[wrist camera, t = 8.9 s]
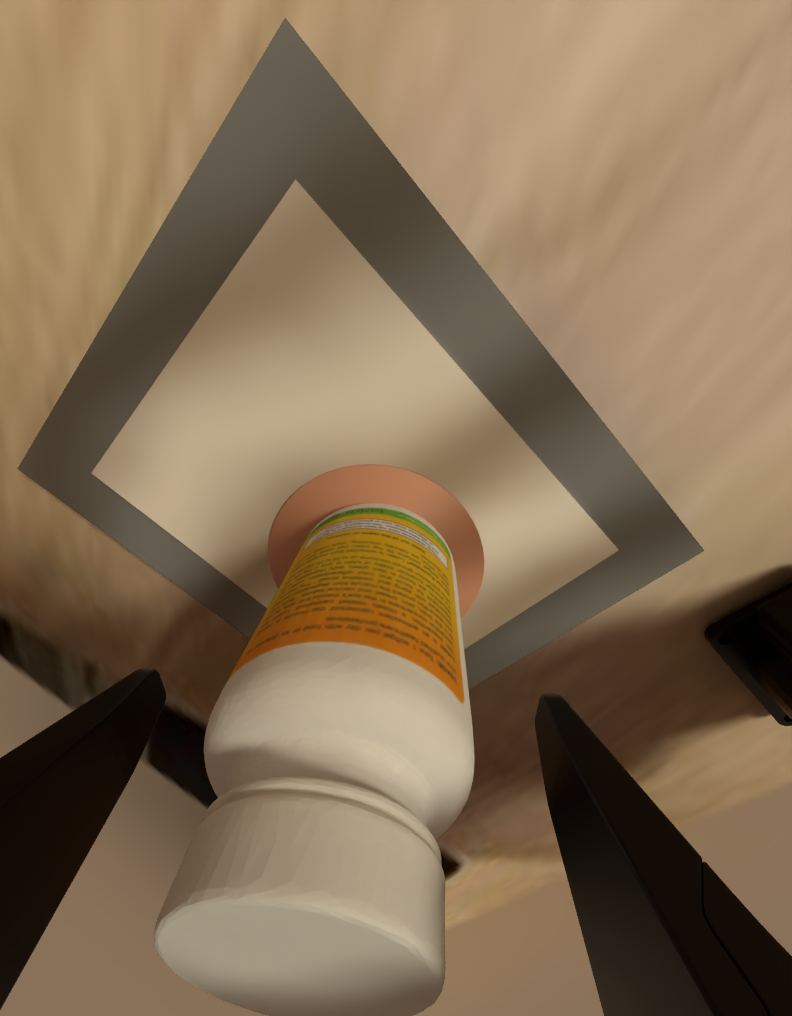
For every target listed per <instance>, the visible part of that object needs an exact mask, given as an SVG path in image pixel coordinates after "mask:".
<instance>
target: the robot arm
mask: <svg viewBox="0 0 792 1016" xmlns="http://www.w3.org/2000/svg"><path fill="white" fill-rule="evenodd" d="M704 636H705V638H706V640H707V641H708V642H709V643H710V644H711V645H712V647H713V648H714V649H715V650H716V651H717V652H718V654H719V655H720V656H721V657H722V658H723V659H724V661H725V662H726V663H727V664H728V665H729V666H730V667H731V669H732V670H733V671H734V672H735V673H736V674H737V676H738V677H739V678H740V679H741V680H742V681H743V683H744V684H745V685H746V686H747V687H748V688H749V690H750V691H751V692H752V693H753V694H754V695H755V696H756V698H757V699H758V700H759V701H760V702H761V703H762V705H763V706H764V707H765V708H766V709H767V710H768V712H769V713H770V714H771V715H772V716H773V717H774V719H775V720H776V721H777V722H778V723H779V724H781V725H784V726H792V583H790V584H788V585H787V586H785V587H783V588H781V589H779V590H777V591H775V592H773V593H771V594H769V595H767V596H766V597H764V598H762V599H760V600H758V601H756V602H754V603H752V604H750V605H748V606H746V607H744V608H743V609H741V610H739V611H737V612H735V613H733V614H731V615H729V616H727V617H725V618H723V619H722V620H720V621H718V622H716V623H714V624H712V625H711V626H709V627H708V628H707V629H706V631H705V633H704ZM165 700H166V692H165V689H164V686H163V683H162V680H161V677H160V674H159V672H158V671H157V670H153V669H139V670H137V671H135V672H133V673H132V674H130V675H128V676H127V677H125V678H124V679H122V680H121V681H119V682H118V683H116V684H114V685H113V686H111V687H110V688H108V689H107V690H105V691H104V692H102V693H101V694H99V695H97V696H96V697H94V698H93V699H91V700H90V701H88V702H87V703H85V704H83V705H82V706H80V707H79V708H77V709H76V710H74V711H73V712H71V713H70V714H68V715H66V716H65V717H63V718H62V719H60V720H59V721H57V722H56V723H54V724H53V725H51V726H49V727H48V728H46V729H45V730H43V731H42V732H40V733H39V734H37V735H35V736H34V737H32V738H31V739H29V740H28V741H26V742H25V743H23V744H22V745H20V746H19V747H17V748H15V749H14V750H12V751H11V752H9V753H8V754H6V755H4V756H3V757H1V758H0V1010H1V1008H2V1006H3V1004H4V1002H5V1001H6V999H7V997H8V995H9V993H10V992H11V990H12V988H13V986H14V984H15V983H16V981H17V979H18V977H19V976H20V974H21V972H22V970H23V969H24V966H25V965H26V963H27V961H28V960H29V958H30V956H31V954H32V952H33V950H34V949H35V947H36V945H37V944H38V942H39V940H40V938H41V936H42V935H43V933H44V931H45V929H46V927H47V926H48V924H49V922H50V920H51V919H52V917H53V915H54V913H55V911H56V909H57V908H58V906H59V904H60V902H61V901H62V899H63V897H64V895H65V893H66V892H67V890H68V888H69V886H70V885H71V883H72V881H73V879H74V877H75V876H76V874H77V872H78V870H79V869H80V867H81V865H82V863H83V861H84V860H85V858H86V856H87V854H88V852H89V851H90V849H91V847H92V845H93V844H94V842H95V840H96V838H97V836H98V835H99V833H100V831H101V829H102V828H103V826H104V824H105V822H106V820H107V819H108V817H109V815H110V813H111V811H112V810H113V808H114V806H115V804H116V803H117V800H118V799H119V797H120V795H121V794H122V792H123V790H124V788H125V786H126V785H127V783H128V781H129V779H130V777H131V775H132V774H133V772H134V770H135V768H136V766H137V763H138V761H139V759H140V757H141V755H142V753H143V750H144V748H145V746H146V744H147V742H148V739H149V737H150V735H151V733H152V730H153V728H154V726H155V724H156V722H157V719H158V717H159V715H160V713H161V710H162V708H163V706H164V703H165ZM535 729H536V735H537V741H538V747H539V753H540V760H541V766H542V772H543V778H544V784H545V790H546V796H547V801H548V806H549V810H550V814H551V818H552V822H553V826H554V830H555V833H556V837H557V841H558V845H559V848H560V852H561V856H562V859H563V863H564V867H565V871H566V874H567V878H568V882H569V886H570V889H571V893H572V897H573V901H574V904H575V908H576V912H577V916H578V919H579V923H580V927H581V931H582V934H583V938H584V942H585V946H586V949H587V953H588V957H589V960H590V964H591V968H592V971H593V976H594V979H595V983H596V986H597V991H598V994H599V998H600V1002H601V1006H602V1009H603V1013H604V1016H792V956H791V955H790V954H789V953H788V952H787V951H786V950H785V949H784V948H783V947H782V946H781V945H780V944H779V943H778V942H777V941H776V940H775V939H774V937H772V935H770V933H769V932H768V931H767V930H766V929H765V928H764V927H763V926H762V925H761V924H760V923H759V922H758V921H757V919H756V918H755V917H754V916H753V915H752V914H751V913H750V912H749V910H748V909H747V908H746V907H745V906H744V905H743V904H742V903H741V902H740V901H739V899H738V898H737V897H736V896H735V895H734V894H733V893H732V892H731V890H730V889H729V888H728V887H727V886H726V885H725V884H724V883H723V881H722V880H721V879H720V878H719V877H718V876H717V874H716V873H715V872H714V871H713V870H712V869H711V868H710V866H709V865H708V864H707V863H706V862H702V858H701V856H700V855H699V854H698V853H697V852H696V851H695V849H694V848H693V847H692V846H691V845H690V844H689V842H688V841H687V840H686V839H685V838H684V837H683V836H682V834H681V833H680V832H679V831H678V830H677V829H676V827H675V826H674V825H673V824H672V823H671V822H670V821H669V819H668V818H667V817H666V816H665V815H664V814H663V812H662V811H661V810H660V809H659V808H658V807H657V806H656V804H655V803H654V802H653V801H652V800H651V799H650V798H649V796H648V795H647V794H646V793H645V792H644V791H643V789H642V788H641V787H640V786H639V785H638V784H637V783H636V781H635V780H634V779H633V778H632V777H631V776H630V774H629V773H628V772H627V771H626V770H625V769H624V768H623V766H622V765H621V764H620V763H619V762H618V761H617V759H616V758H615V757H614V756H613V755H612V754H611V753H610V751H609V750H608V749H607V748H606V747H605V746H604V745H603V743H602V742H601V741H600V740H599V739H598V738H597V736H596V735H595V734H594V733H593V732H592V731H591V730H590V728H589V727H588V726H587V725H586V724H585V723H584V721H583V720H582V719H581V718H580V717H579V716H578V715H577V713H576V712H575V711H574V710H573V709H572V708H571V707H570V705H569V704H568V703H567V702H566V701H565V700H564V698H563V697H561V696H560V695H556V694H542V695H541V697H540V700H539V704H538V708H537V713H536V717H535Z"/></svg>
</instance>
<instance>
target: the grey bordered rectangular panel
mask: <svg viewBox="0 0 792 1016" xmlns="http://www.w3.org/2000/svg"><path fill="white" fill-rule="evenodd" d="M18 469H19V470H20V471H21V472H23V473H24V474H25V475H27V476H28V477H30V478H31V479H32V480H34V481H35V482H36V483H38V484H39V485H40V486H42V487H43V488H45V489H46V490H47V491H49V492H50V493H51V494H53V495H54V496H56V497H57V498H58V499H60V500H61V501H62V502H64V503H65V504H66V505H68V506H69V507H71V508H72V509H73V510H75V511H76V512H77V513H79V514H80V515H81V516H83V517H84V518H86V519H87V520H88V521H90V522H91V523H92V524H94V525H95V526H97V527H98V528H99V529H101V530H102V531H103V532H105V533H106V534H107V535H109V536H110V537H112V538H113V539H114V540H116V541H117V542H118V543H120V544H121V545H122V546H124V547H125V548H127V549H128V550H129V551H131V552H132V553H133V554H135V555H136V556H138V557H139V558H140V559H142V560H143V561H144V562H146V563H147V564H148V565H150V566H151V567H153V568H154V569H155V570H157V571H158V572H159V573H161V574H162V575H164V576H165V577H166V578H168V579H169V580H170V581H172V582H173V583H174V584H176V585H177V586H179V587H180V588H181V589H183V590H184V591H185V592H187V593H188V594H189V595H191V596H192V597H194V598H195V599H196V600H198V601H199V602H200V603H202V604H203V605H205V606H206V607H207V608H209V609H210V610H211V611H213V612H214V613H215V614H217V615H218V616H220V617H221V618H222V619H224V620H225V621H226V622H228V623H229V624H231V625H232V626H233V627H235V628H236V629H237V630H239V631H240V632H241V633H243V634H244V635H246V636H247V637H248V638H250V639H251V637H252V636H253V634H254V632H255V630H256V629H257V627H258V625H259V623H260V622H261V620H262V618H263V616H264V614H265V613H266V610H267V608H268V606H269V605H270V603H271V601H272V599H273V597H274V596H275V594H276V592H277V591H278V589H279V587H280V585H281V583H282V582H283V580H284V578H285V576H286V574H287V572H288V571H289V569H290V567H291V565H292V563H293V561H294V560H295V558H296V556H297V554H298V552H299V551H300V549H301V547H302V545H303V543H304V542H305V540H306V538H307V537H308V535H309V534H310V532H311V531H312V530H313V529H314V528H315V526H316V525H317V524H318V523H319V522H321V521H322V520H323V519H324V518H326V517H327V516H329V515H330V514H332V513H334V512H336V511H337V510H340V509H342V508H345V507H348V506H352V505H356V504H363V503H384V504H391V505H395V506H398V507H402V508H405V509H407V510H410V511H411V512H413V513H415V514H417V515H419V516H420V517H422V518H423V519H425V520H426V521H427V522H429V523H430V524H431V525H432V526H433V527H434V528H435V529H436V530H437V531H438V532H439V533H440V534H441V536H442V537H443V539H444V540H445V542H446V543H447V545H448V547H449V549H450V551H451V554H452V557H453V560H454V565H455V571H456V579H457V587H458V597H459V605H460V615H461V625H462V635H463V644H464V653H465V662H466V672H467V681H468V690H470V689H471V688H473V687H475V686H477V685H478V684H480V683H482V682H483V681H485V680H487V679H488V678H490V677H492V676H493V675H495V674H497V673H499V672H500V671H502V670H504V669H505V668H507V667H509V666H510V665H512V664H514V663H515V662H517V661H519V660H520V659H522V658H524V657H526V656H527V655H529V654H531V653H532V652H534V651H536V650H537V649H539V648H541V647H542V646H544V645H546V644H548V643H549V642H551V641H553V640H554V639H556V638H558V637H559V636H561V635H563V634H564V633H566V632H568V631H570V630H571V629H573V628H575V627H576V626H578V625H580V624H581V623H583V622H585V621H586V620H588V619H590V618H592V617H593V616H595V615H597V614H598V613H600V612H602V611H603V610H605V609H607V608H608V607H610V606H612V605H614V604H615V603H617V602H619V601H620V600H622V599H624V598H625V597H627V596H629V595H630V594H632V593H634V592H635V591H637V590H639V589H641V588H642V587H644V586H646V585H647V584H649V583H651V582H652V581H654V580H656V579H657V578H659V577H661V576H663V575H664V574H666V573H668V572H669V571H671V570H673V569H674V568H676V567H678V566H679V565H681V564H683V563H685V562H686V561H688V560H690V559H691V558H693V557H695V556H696V555H698V554H700V553H701V552H703V551H704V550H703V548H702V547H701V546H700V545H699V543H698V542H697V541H696V539H695V538H694V537H693V536H692V534H691V533H690V532H689V531H688V529H687V528H686V527H685V525H684V524H683V523H682V522H681V520H680V519H679V518H678V517H677V515H676V514H675V513H674V511H673V510H672V509H671V508H670V506H669V505H668V504H667V503H666V501H665V500H664V499H663V497H662V496H661V495H660V494H659V492H658V491H657V490H656V489H655V487H654V486H653V485H652V483H651V482H650V481H649V480H648V478H647V477H646V476H645V475H644V473H643V472H642V471H641V469H640V468H639V467H638V466H637V464H636V463H635V462H634V461H633V459H632V458H631V457H630V456H629V454H628V453H627V452H626V450H625V449H624V448H623V447H622V445H621V444H620V443H619V442H618V440H617V439H616V438H615V436H614V435H613V434H612V433H611V431H610V430H609V429H608V428H607V426H606V425H605V424H604V422H603V421H602V420H601V419H600V417H599V416H598V415H597V414H596V412H595V411H594V410H593V408H592V407H591V406H590V405H589V403H588V402H587V401H586V400H585V398H584V397H583V396H582V394H581V393H580V392H579V391H578V389H577V388H576V387H575V386H574V384H573V383H572V382H571V380H570V379H569V378H568V377H567V375H566V374H565V373H564V372H563V370H562V369H561V368H560V367H559V365H558V364H557V363H556V361H555V360H554V359H553V358H552V356H551V355H550V354H549V353H548V351H547V350H546V349H545V347H544V346H543V345H542V344H541V342H540V341H539V340H538V339H537V337H536V336H535V335H534V333H533V332H532V331H531V330H530V328H529V327H528V326H527V325H526V323H525V322H524V321H523V319H522V318H521V317H520V316H519V314H518V313H517V312H516V311H515V309H514V308H513V307H512V305H511V304H510V303H509V302H508V300H507V299H506V298H505V297H504V295H503V294H502V293H501V292H500V290H499V289H498V288H497V286H496V285H495V284H494V283H493V281H492V280H491V279H490V278H489V276H488V275H487V274H486V272H485V271H484V270H483V269H482V267H481V266H480V265H479V264H478V262H477V261H476V260H475V258H474V257H473V256H472V255H471V253H470V252H469V251H468V250H467V248H466V247H465V246H464V244H463V243H462V242H461V241H460V239H459V238H458V237H457V236H456V234H455V233H454V232H453V230H452V229H451V228H450V227H449V225H448V224H447V223H446V222H445V220H444V219H443V218H442V216H441V215H440V214H439V213H438V211H437V210H436V209H435V208H434V206H433V205H432V204H431V203H430V201H429V200H428V199H427V197H426V196H425V195H424V194H423V192H422V191H421V190H420V189H419V187H418V186H417V185H416V183H415V182H414V181H413V180H412V178H411V177H410V176H409V175H408V173H407V172H406V171H405V169H404V168H403V167H402V166H401V164H400V163H399V162H398V161H397V159H396V158H395V157H394V155H393V154H392V153H391V152H390V150H389V149H388V148H387V147H386V145H385V144H384V143H383V141H382V140H381V139H380V138H379V136H378V135H377V134H376V133H375V131H374V130H373V129H372V127H371V126H370V125H369V124H368V122H367V121H366V120H365V119H364V117H363V116H362V115H361V114H360V112H359V111H358V110H357V108H356V107H355V106H354V105H353V103H352V102H351V101H350V100H349V98H348V97H347V96H346V94H345V93H344V92H343V91H342V89H341V88H340V87H339V86H338V84H337V83H336V82H335V80H334V79H333V78H332V77H331V75H330V74H329V73H328V72H327V70H326V69H325V68H324V66H323V65H322V64H321V63H320V61H319V60H318V59H317V58H316V56H315V55H314V54H313V52H312V51H311V50H310V49H309V47H308V46H307V45H306V44H305V42H304V41H303V40H302V39H301V37H300V36H299V35H298V33H297V32H296V31H295V30H294V28H293V27H292V26H291V25H290V23H289V22H288V21H287V19H286V18H285V19H284V20H283V22H282V24H281V25H280V27H279V29H278V31H277V32H276V34H275V36H274V37H273V39H272V41H271V42H270V44H269V46H268V47H267V49H266V51H265V52H264V54H263V56H262V57H261V59H260V61H259V63H258V64H257V66H256V68H255V69H254V71H253V73H252V74H251V76H250V78H249V79H248V81H247V83H246V84H245V86H244V88H243V89H242V91H241V93H240V95H239V96H238V98H237V100H236V101H235V103H234V105H233V106H232V108H231V110H230V111H229V113H228V115H227V116H226V118H225V120H224V122H223V123H222V125H221V127H220V128H219V130H218V132H217V133H216V135H215V137H214V138H213V140H212V142H211V143H210V145H209V147H208V148H207V150H206V152H205V154H204V155H203V157H202V159H201V160H200V162H199V164H198V165H197V167H196V169H195V170H194V172H193V174H192V175H191V177H190V179H189V180H188V182H187V184H186V186H185V187H184V189H183V191H182V192H181V194H180V196H179V197H178V199H177V201H176V202H175V204H174V206H173V207H172V209H171V211H170V213H169V214H168V216H167V218H166V219H165V221H164V223H163V224H162V226H161V228H160V229H159V231H158V233H157V234H156V236H155V238H154V239H153V241H152V243H151V245H150V246H149V248H148V250H147V251H146V253H145V255H144V256H143V258H142V260H141V261H140V263H139V265H138V266H137V268H136V270H135V271H134V273H133V275H132V277H131V278H130V280H129V282H128V283H127V285H126V287H125V288H124V290H123V292H122V293H121V295H120V297H119V298H118V300H117V302H116V304H115V305H114V307H113V309H112V310H111V312H110V314H109V315H108V317H107V319H106V320H105V322H104V324H103V325H102V327H101V329H100V330H99V332H98V334H97V336H96V337H95V339H94V341H93V342H92V344H91V346H90V347H89V349H88V351H87V352H86V354H85V356H84V357H83V359H82V361H81V362H80V364H79V366H78V368H77V369H76V371H75V373H74V374H73V376H72V378H71V379H70V381H69V383H68V384H67V386H66V388H65V389H64V391H63V393H62V395H61V396H60V398H59V400H58V401H57V403H56V405H55V406H54V408H53V410H52V411H51V413H50V415H49V416H48V418H47V420H46V421H45V423H44V425H43V427H42V428H41V430H40V432H39V433H38V435H37V437H36V438H35V440H34V442H33V443H32V445H31V447H30V448H29V450H28V452H27V453H26V455H25V457H24V459H23V460H22V462H21V464H20V465H19V467H18Z"/></svg>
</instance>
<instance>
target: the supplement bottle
mask: <svg viewBox="0 0 792 1016" xmlns="http://www.w3.org/2000/svg"><path fill="white" fill-rule="evenodd" d="M204 758H205V766H206V770H207V774H208V777H209V780H210V783H211V785H212V787H213V789H214V791H215V793H216V795H217V797H218V799H217V800H216V801H214V802H213V804H212V805H211V806H210V807H209V808H208V810H207V811H206V813H205V814H204V816H203V819H202V822H201V825H200V826H199V827H198V829H197V830H196V832H195V833H194V836H193V838H192V840H191V843H190V845H189V847H188V849H187V852H186V854H185V856H184V858H183V861H182V863H181V865H180V868H179V870H178V872H177V875H176V877H175V879H174V882H173V884H172V887H171V889H170V891H169V893H168V896H167V898H166V901H165V903H164V905H163V907H162V910H161V912H160V914H159V917H158V919H157V923H156V926H155V932H154V941H155V945H156V949H157V952H158V953H159V955H160V957H161V958H162V960H163V961H164V962H165V963H166V965H167V966H168V967H169V968H170V969H171V970H173V971H174V972H175V973H176V974H177V975H178V976H180V977H181V978H183V979H185V980H186V981H188V982H189V983H191V984H193V985H194V986H196V987H198V988H199V989H201V990H203V991H205V992H207V993H209V994H211V995H213V996H215V997H217V998H219V999H221V1000H224V1001H227V1002H229V1003H232V1004H234V1005H237V1006H240V1007H243V1008H245V1009H248V1010H251V1011H255V1012H258V1013H262V1014H265V1015H269V1016H412V1015H415V1014H418V1013H420V1012H422V1011H424V1010H425V1009H426V1008H428V1007H429V1006H431V1005H432V1004H433V1003H435V1002H436V1000H437V998H438V997H439V995H440V993H441V992H442V988H443V984H444V979H445V877H444V872H443V869H442V867H441V854H440V850H439V847H438V844H437V842H436V840H435V839H437V838H438V837H440V836H441V835H442V834H443V833H444V832H445V831H446V830H447V829H448V828H449V827H450V826H451V825H452V824H453V823H454V822H455V820H456V819H457V818H458V816H459V815H460V813H461V811H462V810H463V808H464V806H465V804H466V802H467V799H468V797H469V794H470V791H471V787H472V782H473V776H474V761H475V757H474V740H473V727H472V717H471V708H470V699H469V690H468V681H467V672H466V662H465V653H464V644H463V635H462V625H461V615H460V605H459V597H458V587H457V579H456V571H455V565H454V560H453V557H452V554H451V551H450V549H449V547H448V545H447V543H446V542H445V540H444V539H443V537H442V536H441V534H440V533H439V532H438V531H437V530H436V529H435V528H434V527H433V526H432V525H431V524H430V523H429V522H427V521H426V520H425V519H423V518H422V517H420V516H419V515H417V514H415V513H413V512H411V511H410V510H407V509H405V508H402V507H398V506H395V505H391V504H384V503H363V504H356V505H352V506H348V507H345V508H342V509H340V510H337V511H336V512H334V513H332V514H330V515H329V516H327V517H326V518H324V519H323V520H322V521H321V522H319V523H318V524H317V525H316V526H315V528H314V529H313V530H312V531H311V532H310V534H309V535H308V537H307V538H306V540H305V542H304V543H303V545H302V547H301V549H300V551H299V552H298V554H297V556H296V558H295V560H294V561H293V563H292V565H291V567H290V569H289V571H288V572H287V574H286V576H285V578H284V580H283V582H282V583H281V585H280V587H279V589H278V591H277V592H276V594H275V596H274V597H273V599H272V601H271V603H270V605H269V606H268V608H267V610H266V613H265V614H264V616H263V618H262V620H261V622H260V623H259V625H258V627H257V629H256V630H255V632H254V634H253V636H252V637H251V639H250V641H249V643H248V645H247V646H246V648H245V650H244V652H243V653H242V655H241V657H240V659H239V661H238V662H237V664H236V666H235V668H234V669H233V671H232V673H231V675H230V677H229V679H228V680H227V682H226V684H225V686H224V688H223V690H222V692H221V694H220V696H219V698H218V700H217V702H216V704H215V706H214V708H213V710H212V713H211V715H210V718H209V721H208V725H207V728H206V733H205V740H204Z"/></svg>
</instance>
